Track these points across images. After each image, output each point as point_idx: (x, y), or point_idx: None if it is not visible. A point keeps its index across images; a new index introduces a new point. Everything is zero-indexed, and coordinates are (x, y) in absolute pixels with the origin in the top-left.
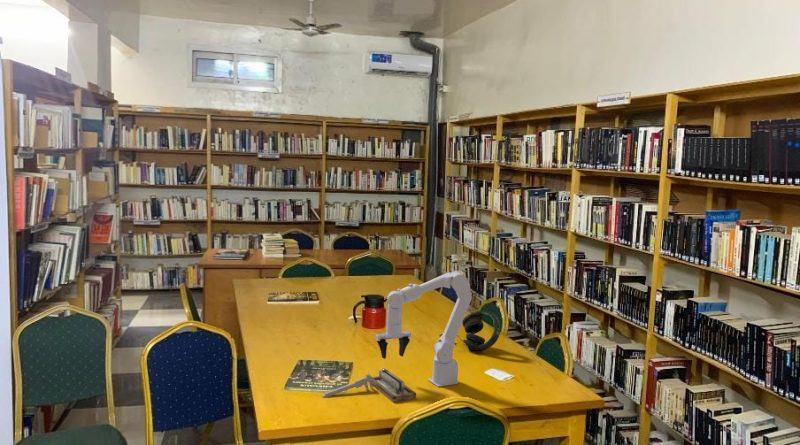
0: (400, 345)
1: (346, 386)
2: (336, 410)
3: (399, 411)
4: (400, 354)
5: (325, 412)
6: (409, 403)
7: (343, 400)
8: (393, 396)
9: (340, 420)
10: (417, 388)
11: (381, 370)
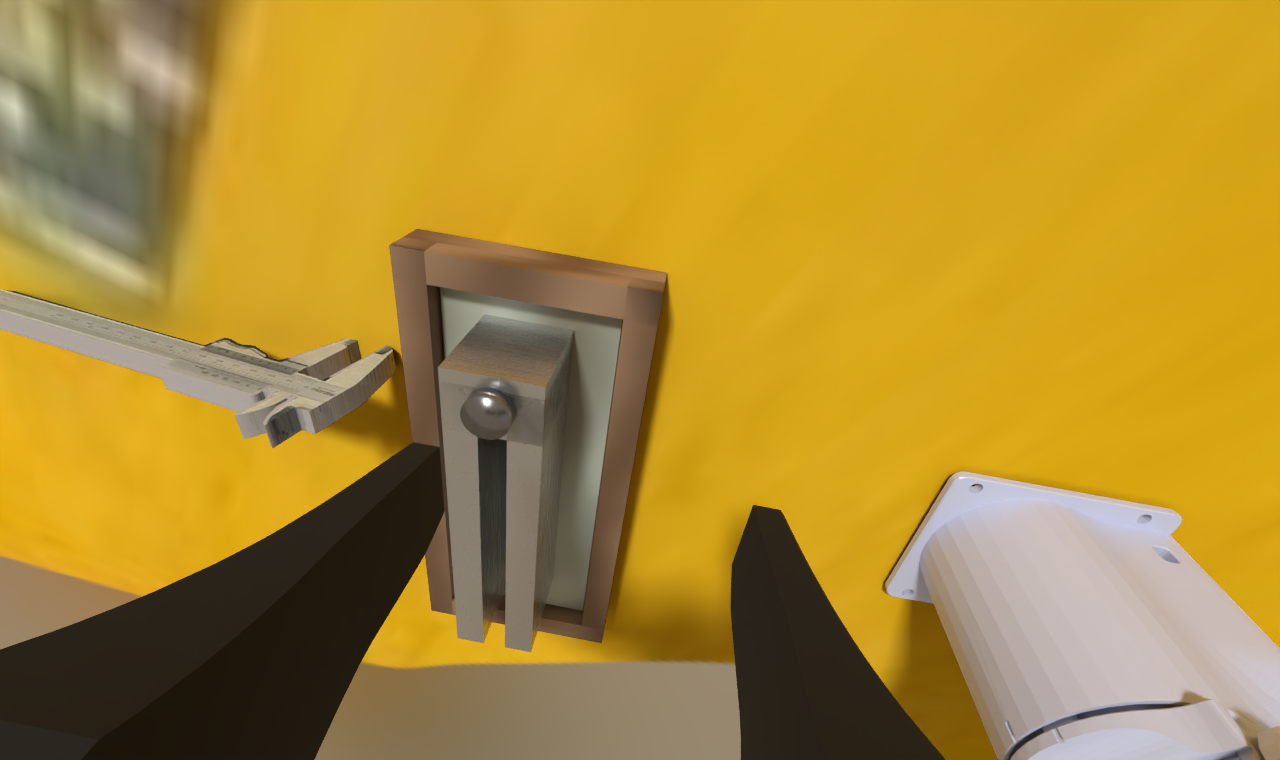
0: (777, 696)
1: (103, 360)
2: (86, 498)
3: (431, 649)
4: (745, 550)
5: (20, 487)
6: None
7: (133, 418)
8: (435, 608)
9: (111, 579)
10: (733, 526)
11: (467, 381)
